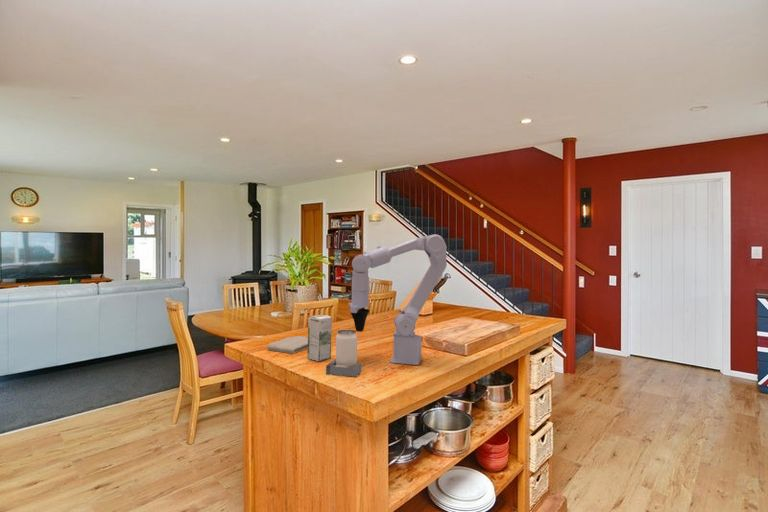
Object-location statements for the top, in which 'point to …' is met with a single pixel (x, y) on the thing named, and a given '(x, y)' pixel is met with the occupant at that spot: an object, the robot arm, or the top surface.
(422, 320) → the top surface
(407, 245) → the robot arm
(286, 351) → the washcloth
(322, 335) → the syrup box
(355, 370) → the metal bracket
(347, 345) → the can
